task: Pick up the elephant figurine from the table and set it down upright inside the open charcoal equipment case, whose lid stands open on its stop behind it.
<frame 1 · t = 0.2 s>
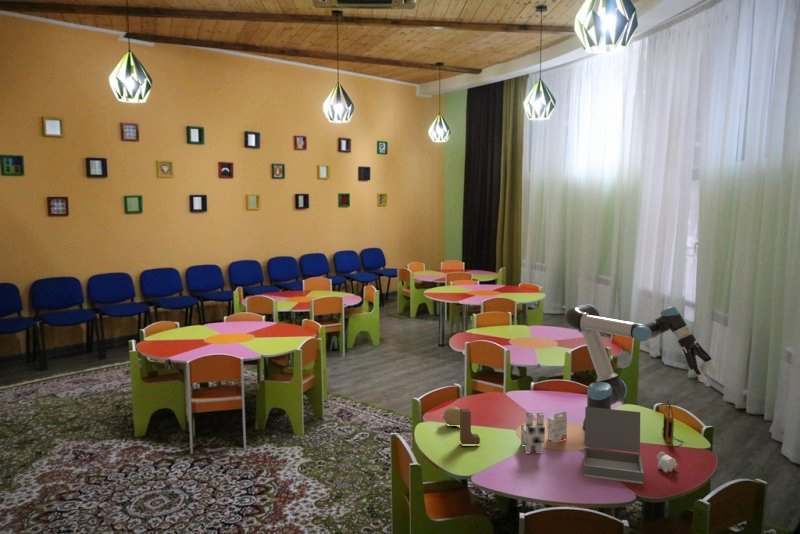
hand: (709, 377, 274), 36 cm above the table, tool tilted 35°, fingers open, 13 cm apart
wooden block: (469, 445, 287), on the table
ink cartridge box: (556, 440, 292), on the table
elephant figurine: (667, 469, 260), on the table
toy pig: (453, 426, 310), on the table
case lid: (612, 429, 271), point 14 cm above the table, hinge at 110.0°
multimeter: (675, 441, 289), on the table
equipment case: (612, 470, 260), on the table
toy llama: (531, 450, 281), on the table
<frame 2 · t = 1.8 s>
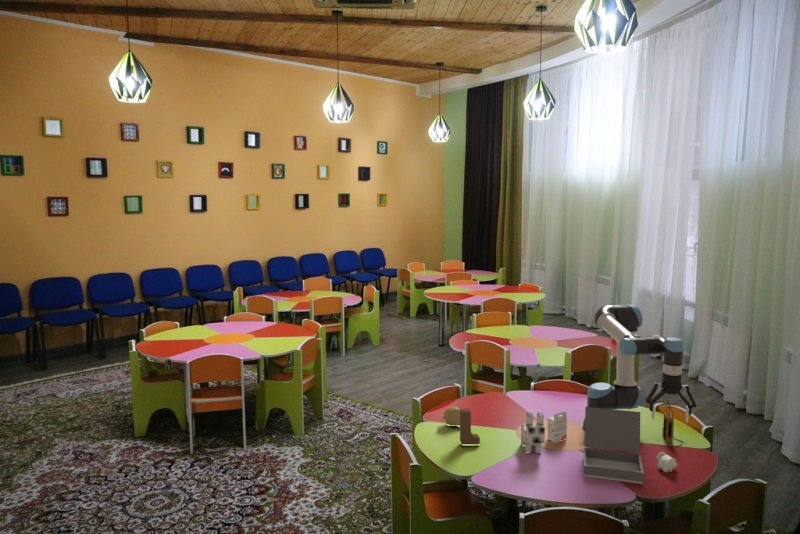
hand: (669, 419, 258), 23 cm above the table, tool pointing down, fingers open, 13 cm apart
nothing on the table moved.
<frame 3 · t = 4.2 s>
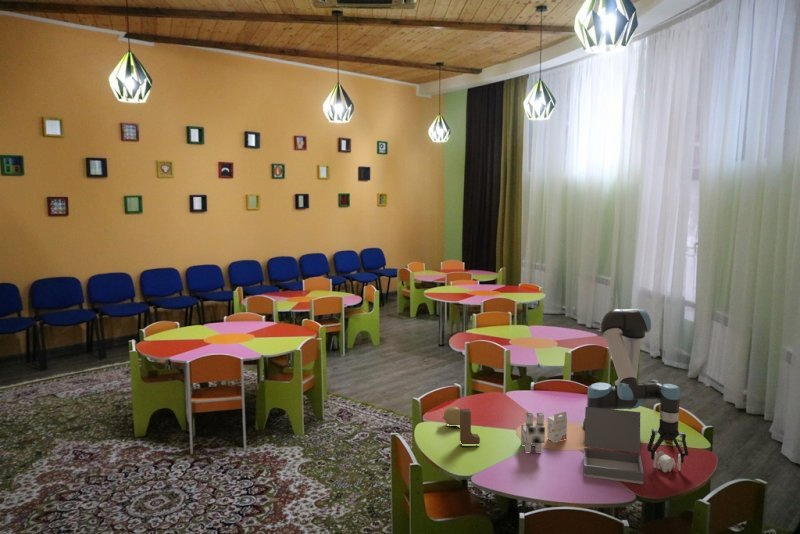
hand: (666, 467, 260), 1 cm above the table, tool pointing down, fingers closed on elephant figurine, 9 cm apart
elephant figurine: (665, 469, 260), on the table, touching gripper
everything else where it was.
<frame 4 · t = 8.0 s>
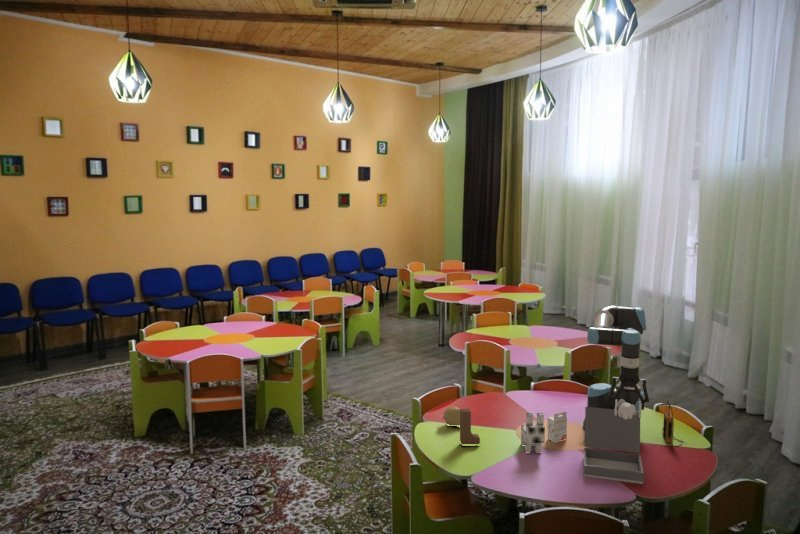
hand: (627, 415, 256), 26 cm above the table, tool pointing down, fingers closed on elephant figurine, 9 cm apart
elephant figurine: (626, 417, 256), point 25 cm above the table, touching gripper
everything else where it was.
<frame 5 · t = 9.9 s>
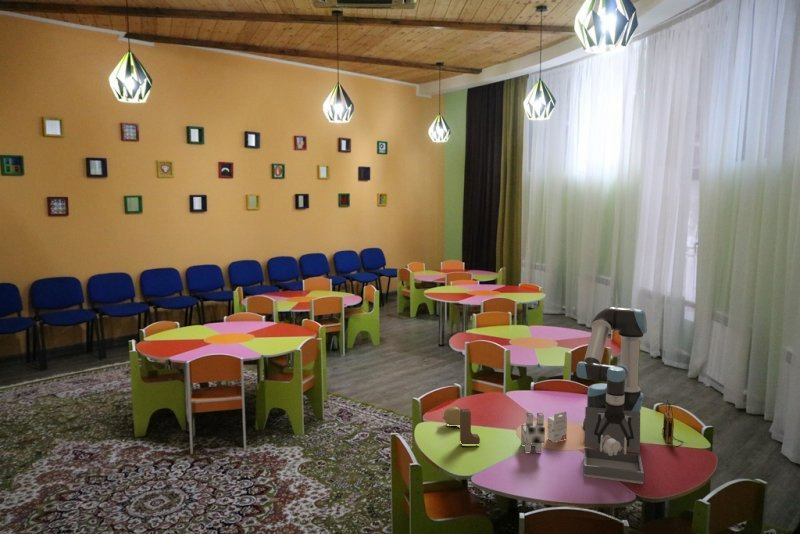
hand: (612, 451, 258), 9 cm above the table, tool pointing down, fingers closed on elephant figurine, 9 cm apart
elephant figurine: (612, 453, 258), point 8 cm above the table, touching gripper
everything else where it was.
when the fingers open (3 cm above the table, at t = 11.7 s): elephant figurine drops 1 cm, resting on equipment case.
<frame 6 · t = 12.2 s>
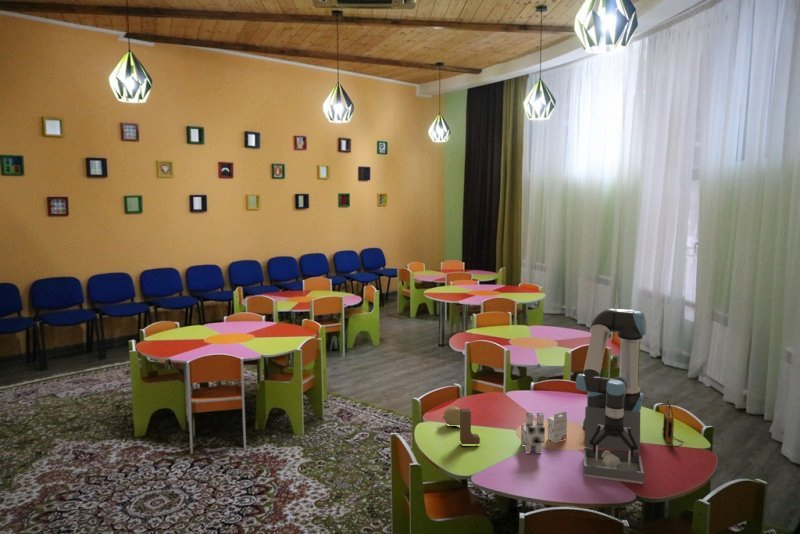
hand: (612, 461, 259), 4 cm above the table, tool pointing down, fingers open, 13 cm apart
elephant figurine: (611, 468, 260), point 1 cm above the table, touching equipment case
everything else where it was.
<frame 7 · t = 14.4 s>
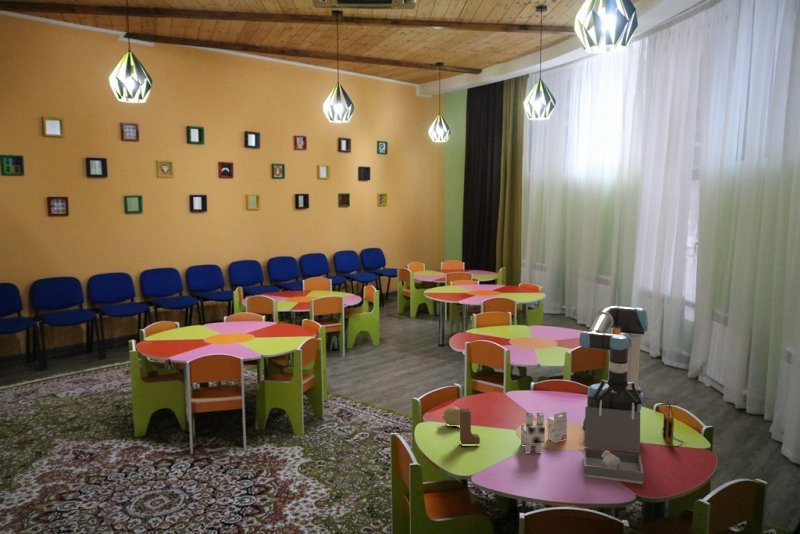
hand: (616, 416, 260), 24 cm above the table, tool pointing down, fingers open, 13 cm apart
nothing on the table moved.
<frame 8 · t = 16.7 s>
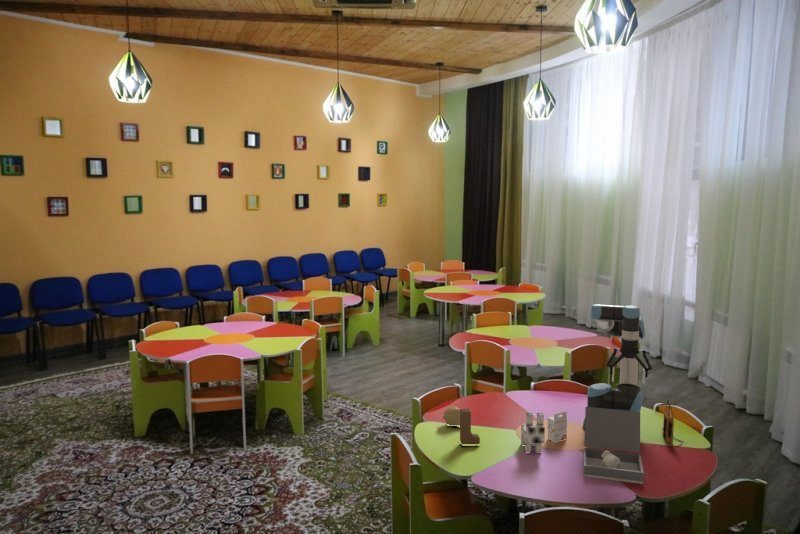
hand: (628, 382, 278), 33 cm above the table, tool pointing down, fingers open, 13 cm apart
nothing on the table moved.
at the end: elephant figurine inside the target area on the equipment case (0.4 cm from its centre), point 0.8 cm above the equipment case's base; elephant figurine tilted 0°; the gripper is holding nothing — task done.
